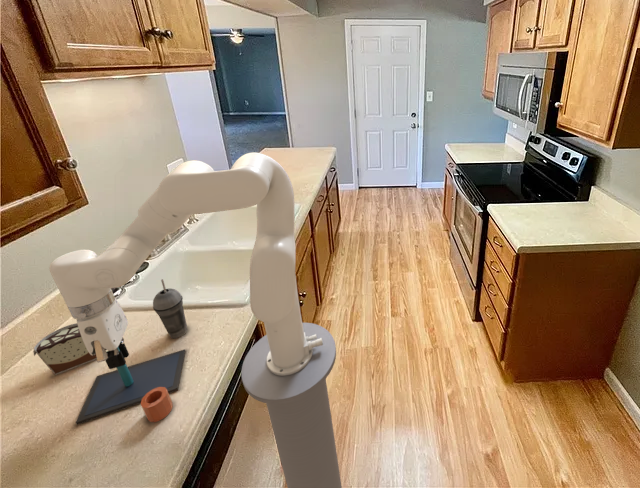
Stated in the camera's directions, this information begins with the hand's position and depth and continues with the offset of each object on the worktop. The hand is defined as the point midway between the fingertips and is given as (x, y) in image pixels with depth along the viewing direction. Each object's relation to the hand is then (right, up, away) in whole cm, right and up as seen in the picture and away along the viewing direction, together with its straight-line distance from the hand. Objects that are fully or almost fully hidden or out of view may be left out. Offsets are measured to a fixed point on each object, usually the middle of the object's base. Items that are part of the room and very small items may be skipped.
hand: (119, 361), depth 81 cm
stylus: (0, -7, +3) cm, 8 cm away
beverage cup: (+2, -2, +20) cm, 20 cm away
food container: (-21, -5, +11) cm, 24 cm away
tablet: (+1, -8, +4) cm, 9 cm away
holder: (+12, -10, -3) cm, 16 cm away
